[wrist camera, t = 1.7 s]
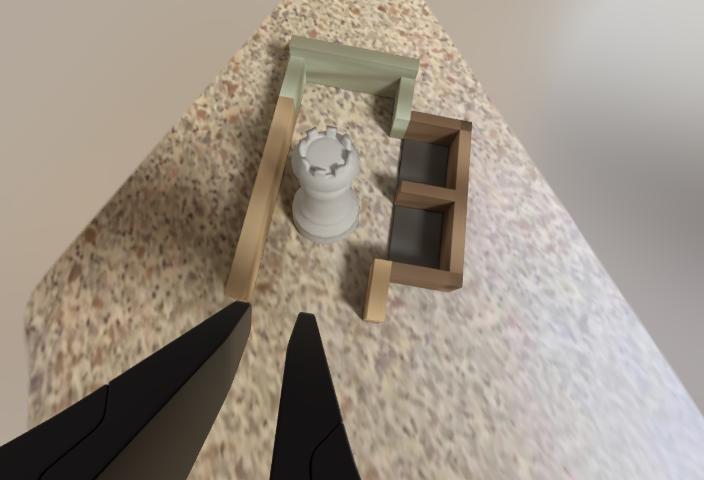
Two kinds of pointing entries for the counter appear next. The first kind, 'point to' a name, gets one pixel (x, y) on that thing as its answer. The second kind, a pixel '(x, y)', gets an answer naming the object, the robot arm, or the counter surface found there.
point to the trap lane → (414, 179)
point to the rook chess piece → (325, 186)
